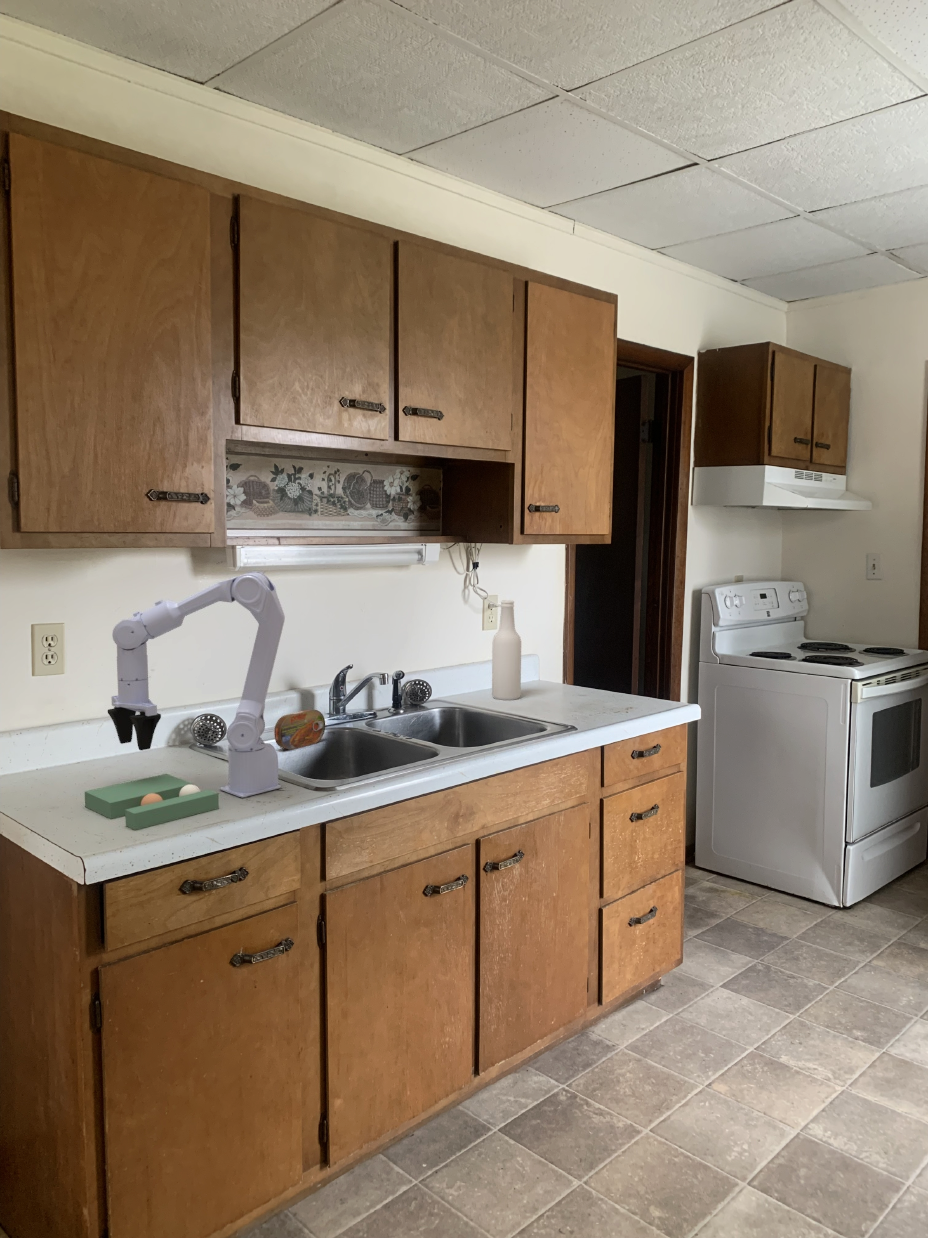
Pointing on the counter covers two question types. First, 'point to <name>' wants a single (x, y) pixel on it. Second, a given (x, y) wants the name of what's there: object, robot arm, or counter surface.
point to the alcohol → (506, 656)
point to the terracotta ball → (151, 799)
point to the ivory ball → (189, 790)
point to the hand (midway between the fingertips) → (135, 746)
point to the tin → (299, 729)
